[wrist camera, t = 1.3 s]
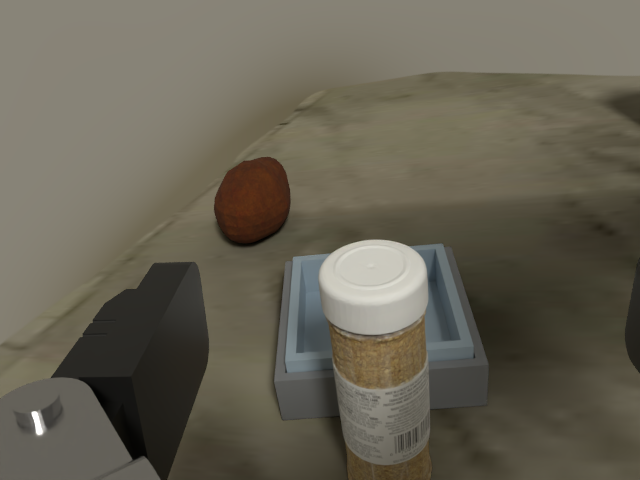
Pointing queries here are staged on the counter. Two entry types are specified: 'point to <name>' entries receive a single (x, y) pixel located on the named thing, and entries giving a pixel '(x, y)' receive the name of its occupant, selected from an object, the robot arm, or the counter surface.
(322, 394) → the blue square tray
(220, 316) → the counter surface
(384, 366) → the sprinkles bottle
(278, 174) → the potato
